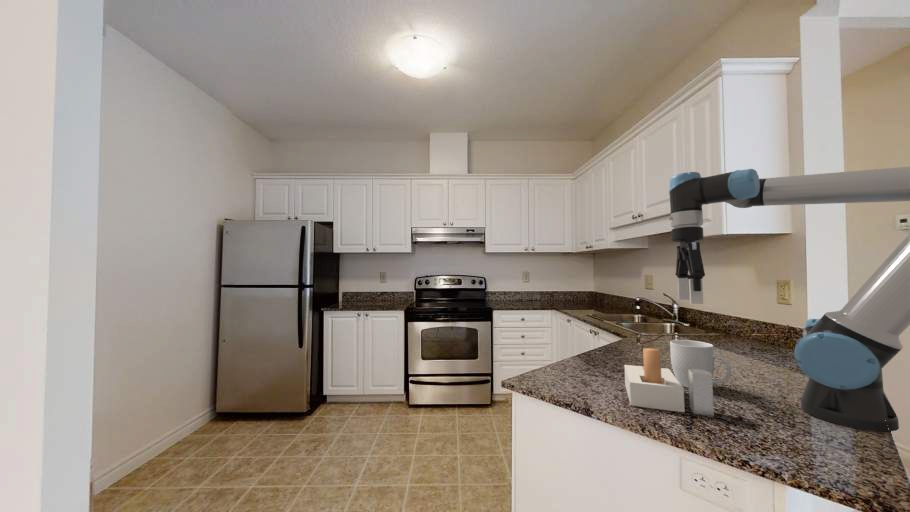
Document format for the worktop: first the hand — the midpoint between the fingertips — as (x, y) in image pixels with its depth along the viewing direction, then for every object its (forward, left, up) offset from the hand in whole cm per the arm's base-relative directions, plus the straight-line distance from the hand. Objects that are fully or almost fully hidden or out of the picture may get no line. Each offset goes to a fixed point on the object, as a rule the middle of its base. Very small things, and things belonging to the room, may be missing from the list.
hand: (690, 301), depth 94 cm
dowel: (+11, +8, -25) cm, 28 cm away
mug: (-3, -10, -27) cm, 29 cm away
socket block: (+11, +4, -27) cm, 29 cm away
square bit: (+1, +11, -27) cm, 29 cm away
